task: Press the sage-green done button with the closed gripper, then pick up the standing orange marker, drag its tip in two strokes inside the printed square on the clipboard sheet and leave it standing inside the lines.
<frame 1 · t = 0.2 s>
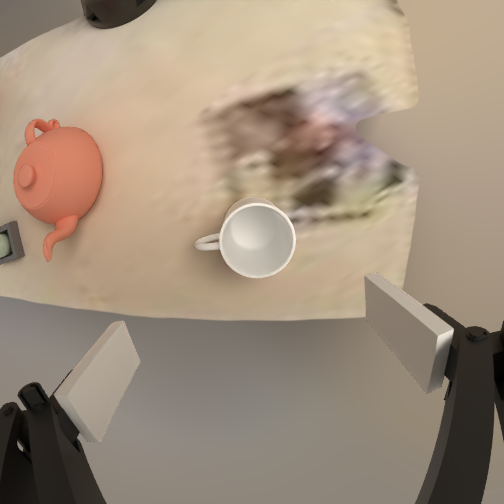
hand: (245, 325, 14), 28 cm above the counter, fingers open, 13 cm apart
button base: (11, 242, 40), on the counter
mug: (242, 226, 41), on the counter
done button: (1, 245, 36), point 3 cm above the counter, slide at 0.0 cm
teapot: (72, 180, 38), on the counter
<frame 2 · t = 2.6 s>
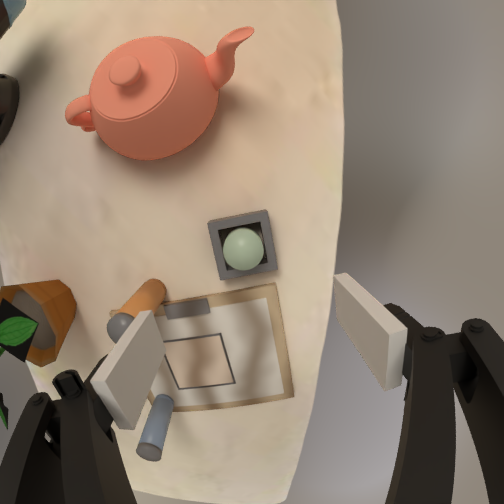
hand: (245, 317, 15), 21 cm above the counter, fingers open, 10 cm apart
blue marker: (164, 400, 40), point 1 cm above the counter, touching clipboard
button base: (243, 242, 35), on the counter
orange marker: (155, 289, 36), on the counter
done button: (243, 247, 32), point 3 cm above the counter, slide at 0.0 cm
clipboard: (205, 359, 39), on the counter
teapot: (167, 101, 31), on the counter
potted plant: (58, 299, 36), on the counter
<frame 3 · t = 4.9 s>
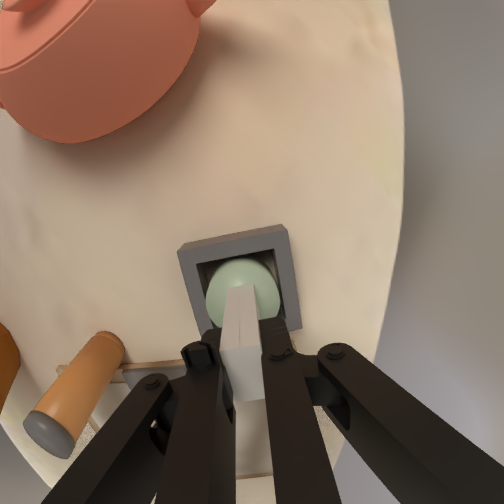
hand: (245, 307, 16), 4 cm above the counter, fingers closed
button base: (242, 280, 20), on the counter
orange marker: (109, 346, 21), on the counter
done button: (242, 293, 18), point 3 cm above the counter, slide at 0.6 cm, touching gripper
clipboard: (190, 433, 24), on the counter
teapot: (121, 52, 16), on the counter
potted plant: (0, 341, 22), on the counter
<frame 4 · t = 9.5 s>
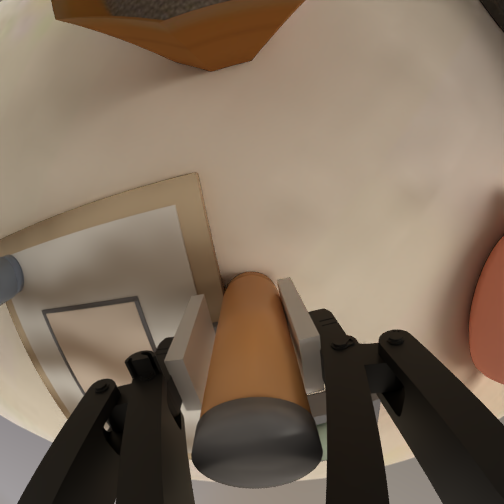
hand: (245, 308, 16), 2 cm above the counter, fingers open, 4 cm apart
blue marker: (12, 273, 16), point 1 cm above the counter, touching clipboard
button base: (330, 417, 20), on the counter
orange marker: (251, 296, 17), on the counter, touching clipboard
done button: (335, 433, 18), point 2 cm above the counter, slide at 1.2 cm
clipboard: (116, 363, 19), on the counter
potted plant: (219, 25, 13), on the counter
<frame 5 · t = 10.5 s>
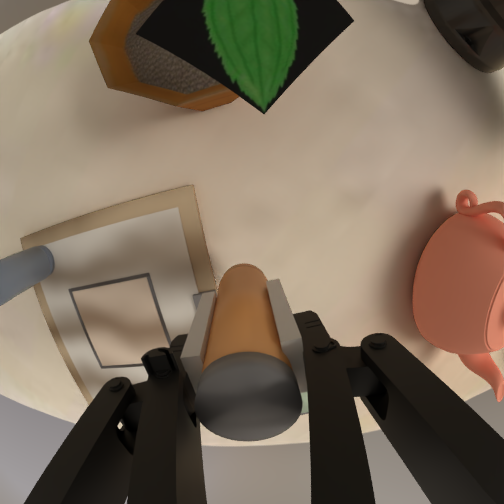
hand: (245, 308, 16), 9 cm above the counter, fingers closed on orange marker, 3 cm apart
blue marker: (43, 260, 22), point 1 cm above the counter, touching clipboard
orange marker: (243, 285, 20), point 5 cm above the counter, touching gripper
done button: (302, 388, 25), point 2 cm above the counter, slide at 1.2 cm
clipboard: (127, 331, 25), on the counter
teapot: (450, 281, 27), on the counter
potted plant: (208, 72, 21), on the counter
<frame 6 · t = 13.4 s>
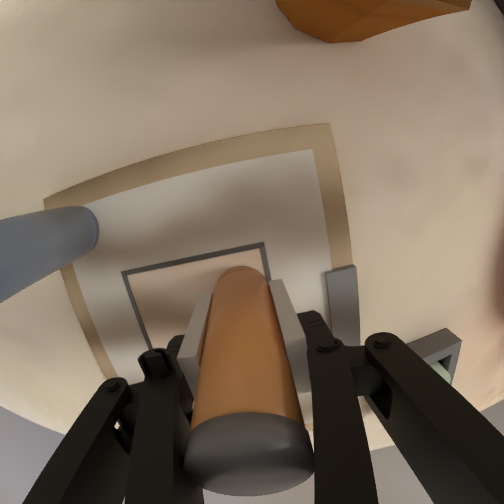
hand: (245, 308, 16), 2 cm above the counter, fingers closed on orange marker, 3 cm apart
blue marker: (79, 229, 16), point 1 cm above the counter, touching clipboard
button base: (412, 370, 21), on the counter
orange marker: (242, 290, 17), point 1 cm above the counter, touching gripper
done button: (422, 382, 19), point 2 cm above the counter, slide at 1.2 cm
clipboard: (212, 330, 19), on the counter
potted plant: (327, 7, 14), on the counter
when the fingers open (2 cm above the counter, at t = 16.3 s): orange marker stays where it is, resting on clipboard.
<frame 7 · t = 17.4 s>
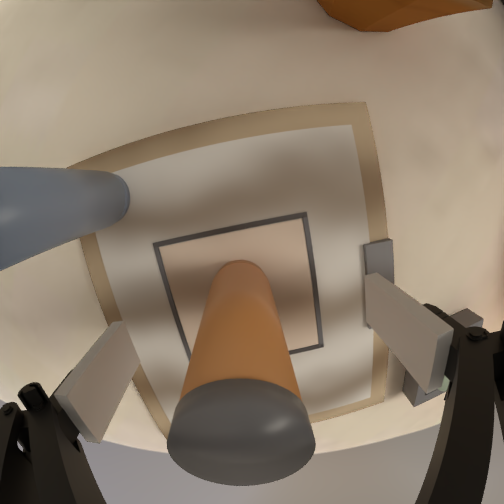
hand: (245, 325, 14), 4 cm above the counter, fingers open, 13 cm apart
blue marker: (107, 198, 15), point 1 cm above the counter, touching clipboard
button base: (436, 351, 20), on the counter
orange marker: (240, 285, 17), point 1 cm above the counter, touching clipboard
done button: (447, 362, 18), point 2 cm above the counter, slide at 1.2 cm
clipboard: (246, 308, 18), on the counter
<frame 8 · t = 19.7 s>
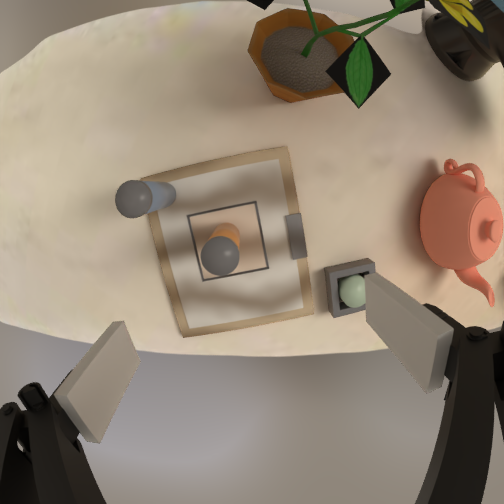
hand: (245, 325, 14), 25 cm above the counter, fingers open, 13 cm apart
blue marker: (164, 194, 35), point 1 cm above the counter, touching clipboard
button base: (348, 284, 40), on the counter
orange marker: (226, 234, 37), point 1 cm above the counter, touching clipboard
done button: (353, 289, 38), point 2 cm above the counter, slide at 1.2 cm
clipboard: (230, 247, 38), on the counter
teapot: (445, 224, 39), on the counter
potted plant: (292, 78, 33), on the counter
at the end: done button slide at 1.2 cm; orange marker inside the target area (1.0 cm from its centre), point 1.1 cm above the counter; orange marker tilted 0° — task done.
